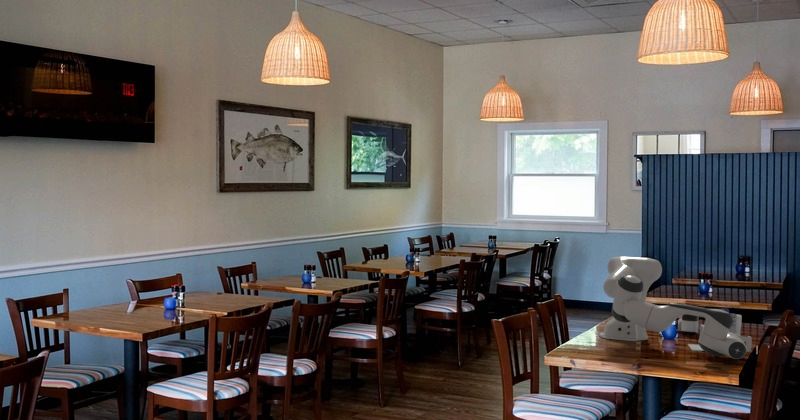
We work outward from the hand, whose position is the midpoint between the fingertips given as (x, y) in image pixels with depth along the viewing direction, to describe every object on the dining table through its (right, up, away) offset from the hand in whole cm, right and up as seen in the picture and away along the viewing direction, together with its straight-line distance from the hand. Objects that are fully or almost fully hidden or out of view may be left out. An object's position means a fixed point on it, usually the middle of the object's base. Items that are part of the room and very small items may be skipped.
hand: (723, 337), depth 348 cm
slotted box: (+4, -7, +21) cm, 22 cm away
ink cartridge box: (+15, -7, +35) cm, 39 cm away
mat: (-7, -7, +9) cm, 13 cm away
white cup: (+23, -7, +46) cm, 52 cm away
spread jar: (+2, -6, +49) cm, 49 cm away
